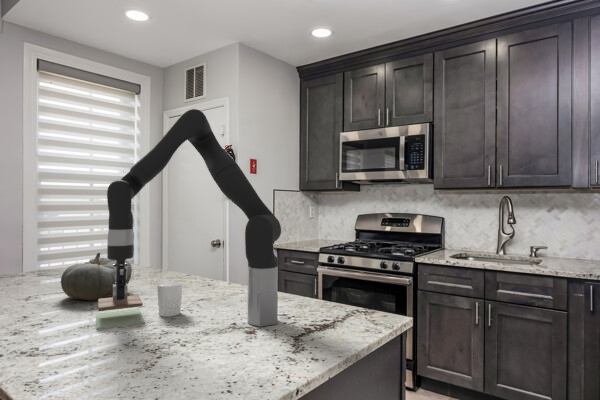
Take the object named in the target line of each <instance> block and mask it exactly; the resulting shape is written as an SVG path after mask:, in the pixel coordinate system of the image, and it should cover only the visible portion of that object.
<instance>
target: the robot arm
mask: <svg viewBox="0 0 600 400" xmlns="http://www.w3.org/2000/svg"><path fill="white" fill-rule="evenodd" d="M186 141H188V142H189V143H191V145H192V147H194V149H195V150H196V151H197V152H198V153H199V155H200V156H201V157H202V159H203V162H204V163H205V166H206V168H207V170H208V172H209V174H210V175H211V178H212V179H213V181H214V182H215V184H216V185H217V187H218V188H219V189H220V191H221V192H222V193H223V195H224V196H226V198H228V199H229V200H230V201H231V202H232V203H233V204H234V205H236V206H237V207H238V208H239V209H240V210H241V211H242V213H244V215H245V216H246V217H247V219H248V221H247V223H246V225H245V229H244V245H245V248H244V249H245V250H244V251H245V257H246V260H247V324H249V325H252V326H257V327H258V328H260V327H267V326H273V325H277V324H278V321H279V320H278V319H279V318H278V315H279V313H278V303H279V300H278V296H279V295H278V279H279V278H278V272H279V271H278V268H279V267H278V262H279V261H278V257H277V256H276V254H275V252H274V251H275V250H274V242H277V240H279V238H280V237H281V234H282V227H281V226H282V225H281V223H280V221H279V219H278V218H277V217H276V216H275V215H274V213H273V212H272V211H271V210H270V209H269V208H268V207H267V205H266V204H265V203H264V202H263V200H262V198H260V196H259V195H258V193H257V191H256V190H255V188H254V187H253V185H252V184H251V182H250V181H249V179H248V178H247V176H246V174H245V173H244V171H243V170H242V169H241V167H240V166H239V164H238V162H237V161H235V159H234V158H233V157H232V156H231V155H230V154H229V153H228V152H227V151H226V150H225V149H224V148H223V147H222V146H221V144H220V142H219V141H218V139H217V138H216V136H215V134H214V132H213V130H212V127H211V125H210V122H209V120H208V118H207V116H206V115H205V113H204V112H203V111H201V110H199V109H197V108H192V109H188V110H186V111H185V112H183V113H182V114H181V115H180V116H179V117H178V118H177V120H176V121H175V123H173V124H172V126H171V127H170V128H169V129H168V130H167V132H166V133H165V134H164V135H163V137H161V139H160V140H159V141H158V142H157V143H156V144H155V145H154V146H153V147H152V148H151V149H150V150H149V151H147V153H146V154H144V155H143V156H142V157H141V158H140V159H139V160H138V161H137V162H136V163H134V164H133V165H132V166H131V167H130V170H129V172H127V173H126V174H125V175H124V176H123V177H121V178H120V179H118V180H114V181H112V182H111V183H110V184H109V186H107V190H106V197H107V198H106V200H107V209H108V229H107V230H108V233H107V244H106V245H107V248H106V249H107V250H106V252H107V255H106V256H107V257H106V258H108V259H110V260H116V263H115V264H113V269H114V278H115V281H116V282H115V283H116V288H117V300H122V299H124V298H125V286H126V279H127V269H128V265H127V263H126V264H125V260H126V259H127V260H130V259H133V258H134V255H135V254H134V248H135V247H134V240H135V237H134V235H135V234H134V214H133V212H132V200H133V199H134V198H135V196H137V195H138V194H139V193H140V192H141V190H142V189H144V187H145V186H146V185H147V184H148V183H150V182H151V181H152V180H153V179H154V178H155V177H157V176H158V175H159V174H160V173H161V172H162V171H163V170H164V169H165V168H166V167H167V165H168V163H169V162H170V161H171V159H172V157H173V156H174V154H175V153H176V151H177V150H178V149H179V148H180V147H181V146H182V145H183V144H184V142H186Z"/></svg>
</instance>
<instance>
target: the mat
mask: <svg viewBox="0 0 600 400" xmlns="http://www.w3.org/2000/svg"><path fill="white" fill-rule="evenodd" d="M95 316H96V317H95V318H96V321H95V322H96V330H97V331H99V330H106V329H113V328H120V327H121V328H122V327H127V326H129V327H130V326H134V325H135V326H136V325H144V324H145V323H146V320H145V318H144V316H143V314H142V312H141V310H140V308H133V309H131V308H130V309H125V310H123V309H122V310H117V311H115V310H114V311H107V312H99V313H95Z"/></svg>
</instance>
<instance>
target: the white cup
mask: <svg viewBox="0 0 600 400" xmlns="http://www.w3.org/2000/svg"><path fill="white" fill-rule="evenodd" d="M156 286H157V305H158V315H159V316H160V317H165V318H166V317H169V318H170V317H174V316H178V315H180V314H181V308H182V306H181V305H182V297H183V282H182V281H162V282H159V283H157V285H156Z"/></svg>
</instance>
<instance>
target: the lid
mask: <svg viewBox="0 0 600 400" xmlns="http://www.w3.org/2000/svg"><path fill="white" fill-rule="evenodd" d="M128 287H129V284H127V283H126V286H125V298H124V299H122V300H117V288H116V284H113V295H112V297H111V296H110V297H104V298H100V299H97V303H98V304H97V305H98V312H105V311H113V310H114V311H115V310H121V309H122V310H123V309H131V308H133V309H134V308H140V307H143V305H144V304H143V301H142V299H141V296H140V295H139V294H131V295H128V292H129V290H128Z"/></svg>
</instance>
